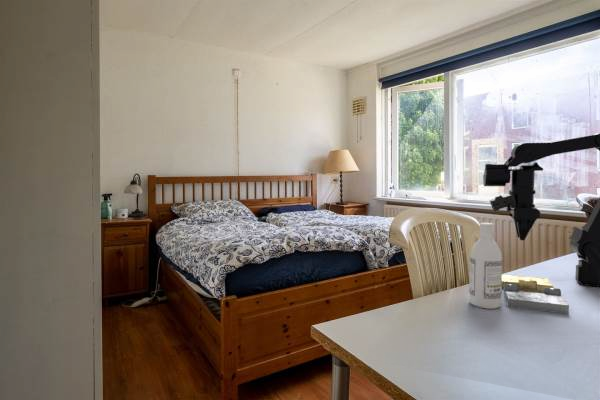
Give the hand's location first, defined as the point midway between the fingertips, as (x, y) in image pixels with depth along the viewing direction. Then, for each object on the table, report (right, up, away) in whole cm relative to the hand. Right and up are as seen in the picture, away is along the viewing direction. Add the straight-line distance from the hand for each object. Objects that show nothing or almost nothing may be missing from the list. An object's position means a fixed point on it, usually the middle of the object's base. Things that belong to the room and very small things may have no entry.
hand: (520, 238), depth 109 cm
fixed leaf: (-9, -14, -19) cm, 25 cm away
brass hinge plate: (-4, -13, -8) cm, 15 cm away
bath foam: (-21, -14, -19) cm, 32 cm away
